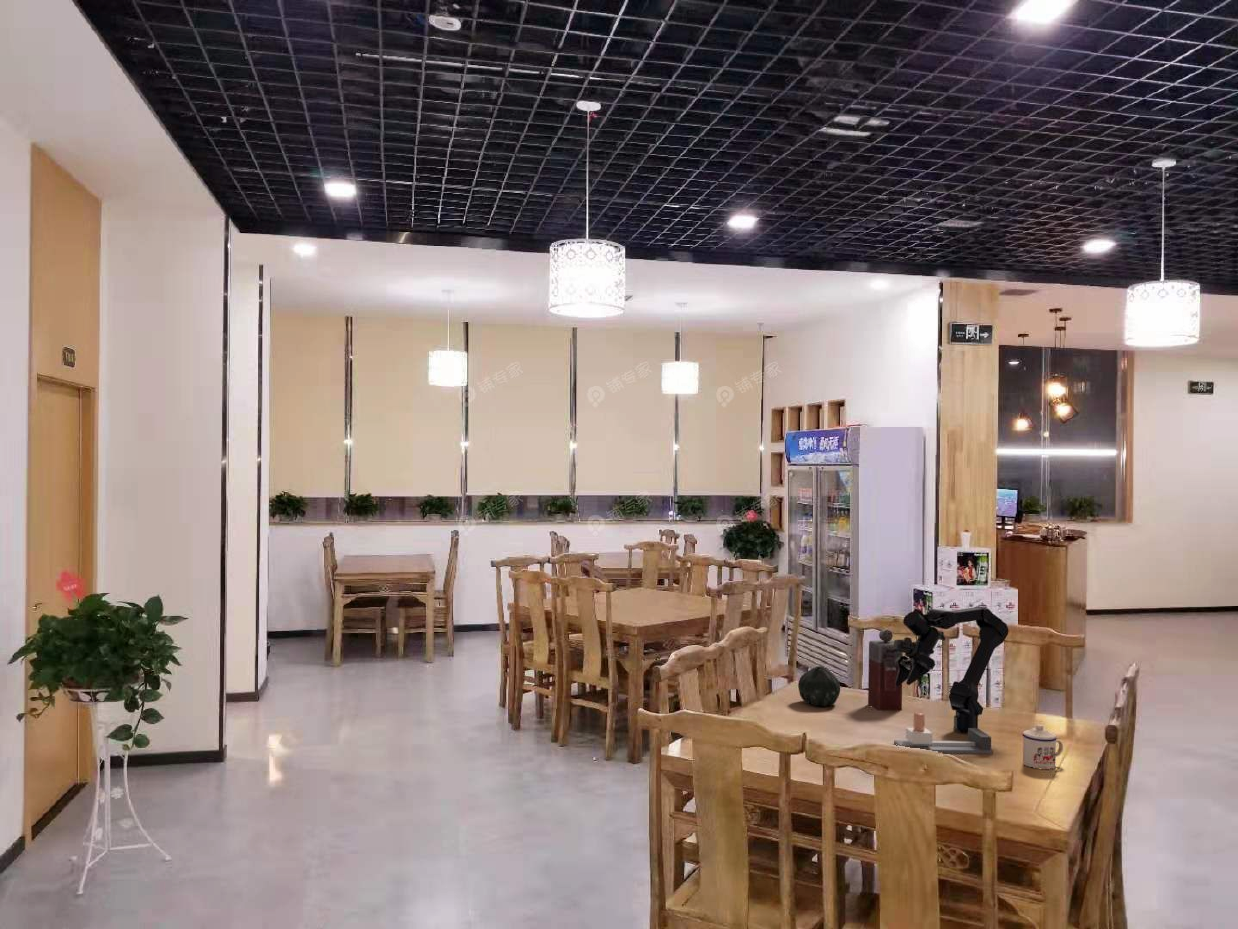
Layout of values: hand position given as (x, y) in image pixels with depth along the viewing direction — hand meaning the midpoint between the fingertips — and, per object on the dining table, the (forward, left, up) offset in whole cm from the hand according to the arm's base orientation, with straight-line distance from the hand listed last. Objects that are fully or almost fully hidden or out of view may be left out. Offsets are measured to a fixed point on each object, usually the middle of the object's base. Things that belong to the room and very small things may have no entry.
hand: (901, 685), depth 299 cm
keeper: (-3, +8, -15) cm, 18 cm away
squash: (+14, -47, -18) cm, 52 cm away
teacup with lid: (-34, +24, -18) cm, 45 cm away
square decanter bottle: (-9, -42, -18) cm, 46 cm away
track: (-10, +8, -17) cm, 22 cm away
